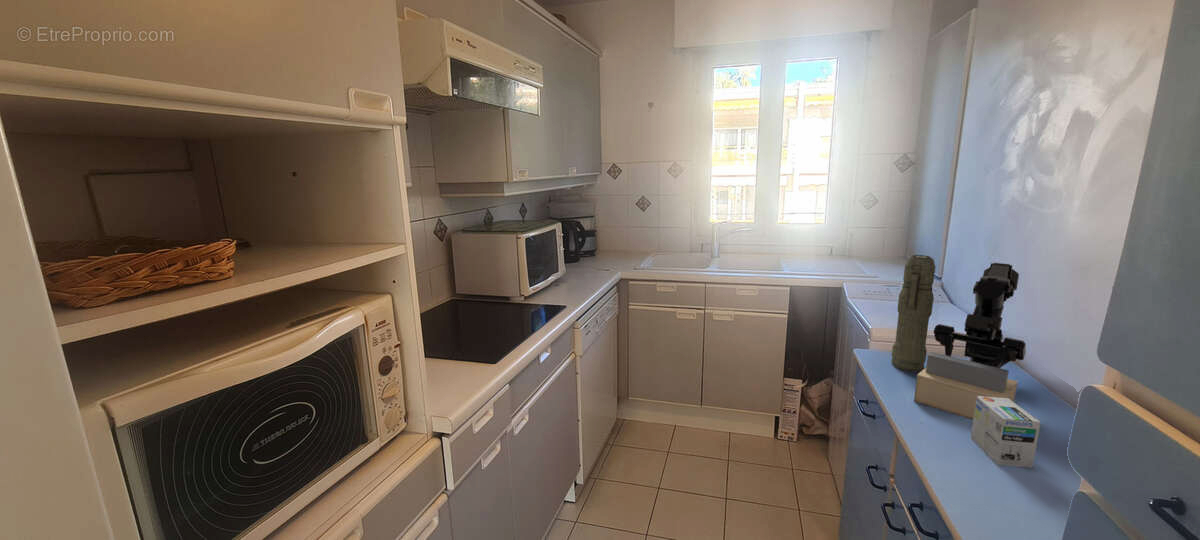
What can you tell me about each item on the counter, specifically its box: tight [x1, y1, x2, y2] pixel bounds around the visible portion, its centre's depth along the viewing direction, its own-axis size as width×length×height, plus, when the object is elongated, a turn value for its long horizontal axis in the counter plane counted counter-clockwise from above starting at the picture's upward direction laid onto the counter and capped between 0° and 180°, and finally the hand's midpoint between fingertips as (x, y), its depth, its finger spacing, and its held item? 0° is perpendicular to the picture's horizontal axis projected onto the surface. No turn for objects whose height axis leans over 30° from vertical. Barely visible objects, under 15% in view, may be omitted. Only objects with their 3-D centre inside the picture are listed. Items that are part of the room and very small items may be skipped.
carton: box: [913, 376, 1019, 421], centre depth 122 cm, size 14×18×8 cm
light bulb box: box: [970, 396, 1042, 469], centre depth 102 cm, size 11×7×11 cm, turn 168°
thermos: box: [891, 254, 936, 373], centre depth 144 cm, size 9×12×35 cm
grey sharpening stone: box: [916, 351, 1011, 398], centre depth 119 cm, size 7×18×6 cm, turn 40°
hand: (968, 368), depth 121 cm, fingers open, 9 cm apart
